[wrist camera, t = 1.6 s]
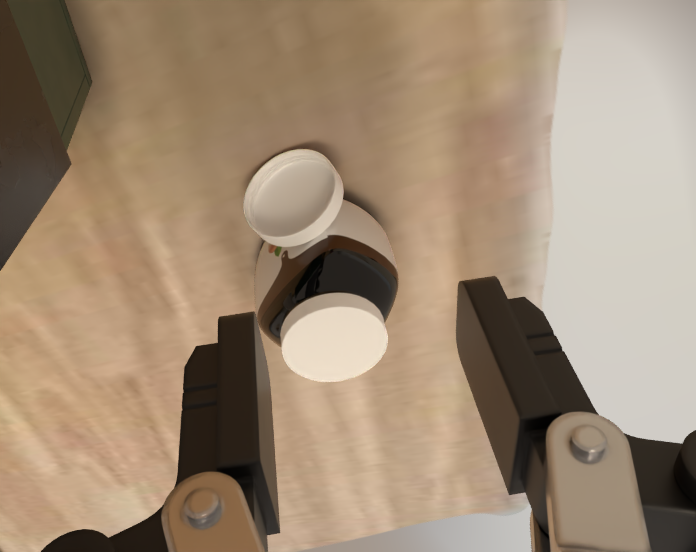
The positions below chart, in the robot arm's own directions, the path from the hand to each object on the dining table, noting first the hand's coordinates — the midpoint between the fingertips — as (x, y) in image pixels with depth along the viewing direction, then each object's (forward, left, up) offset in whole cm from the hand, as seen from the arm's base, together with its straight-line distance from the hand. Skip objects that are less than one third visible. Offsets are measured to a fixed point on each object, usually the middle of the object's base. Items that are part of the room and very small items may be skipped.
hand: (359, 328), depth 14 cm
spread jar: (+11, -15, -31) cm, 37 cm away
